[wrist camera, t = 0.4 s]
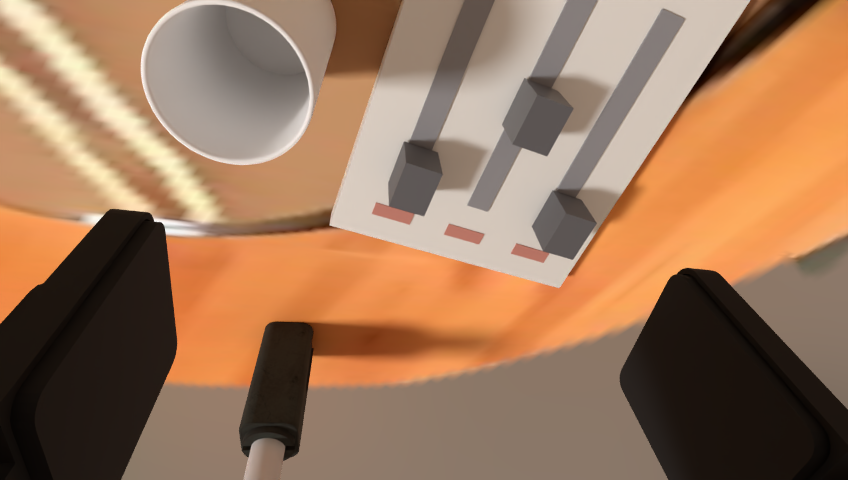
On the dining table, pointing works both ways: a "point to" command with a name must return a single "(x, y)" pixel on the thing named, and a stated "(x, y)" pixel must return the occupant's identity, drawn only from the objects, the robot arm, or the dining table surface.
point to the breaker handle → (536, 117)
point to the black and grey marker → (276, 399)
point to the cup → (238, 74)
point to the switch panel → (487, 108)
